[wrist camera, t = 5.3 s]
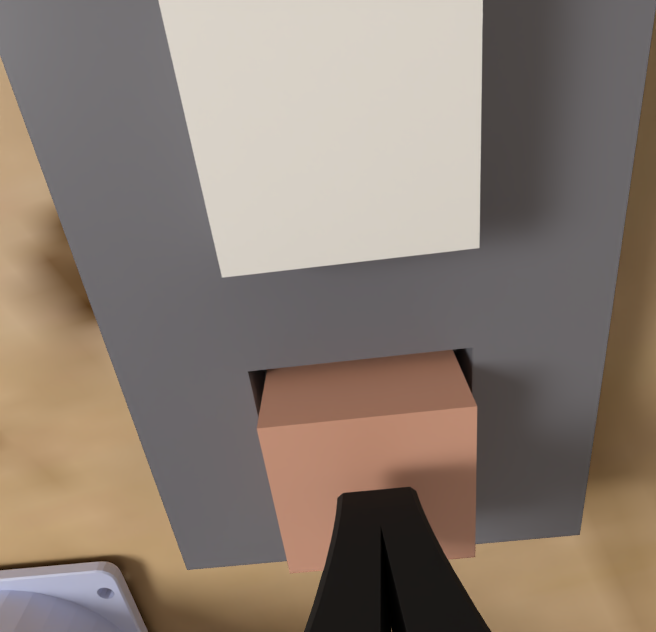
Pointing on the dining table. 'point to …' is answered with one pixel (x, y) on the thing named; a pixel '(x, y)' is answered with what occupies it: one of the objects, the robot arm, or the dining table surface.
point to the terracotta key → (369, 446)
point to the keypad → (350, 278)
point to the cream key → (332, 126)
